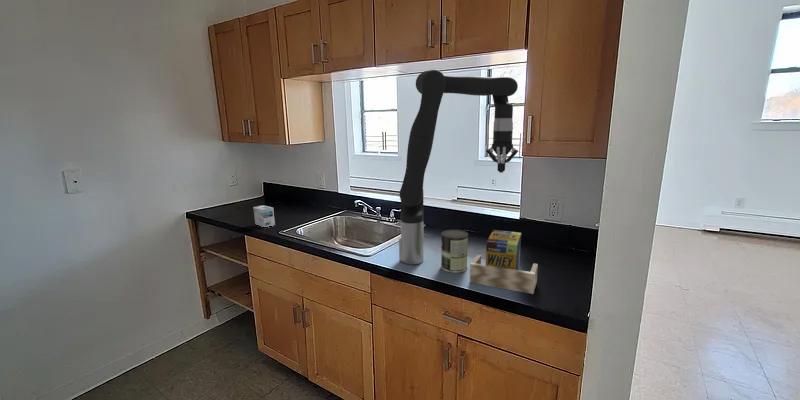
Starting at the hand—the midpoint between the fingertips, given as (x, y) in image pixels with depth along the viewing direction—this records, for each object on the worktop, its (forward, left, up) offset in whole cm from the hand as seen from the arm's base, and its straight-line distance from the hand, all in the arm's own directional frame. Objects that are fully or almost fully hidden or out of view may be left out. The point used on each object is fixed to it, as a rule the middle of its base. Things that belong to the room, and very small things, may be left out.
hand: (501, 172), depth 152 cm
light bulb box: (-128, -10, -35) cm, 133 cm away
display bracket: (+8, -30, -35) cm, 47 cm away
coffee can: (-12, -24, -35) cm, 44 cm away
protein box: (+7, -25, -35) cm, 44 cm away
